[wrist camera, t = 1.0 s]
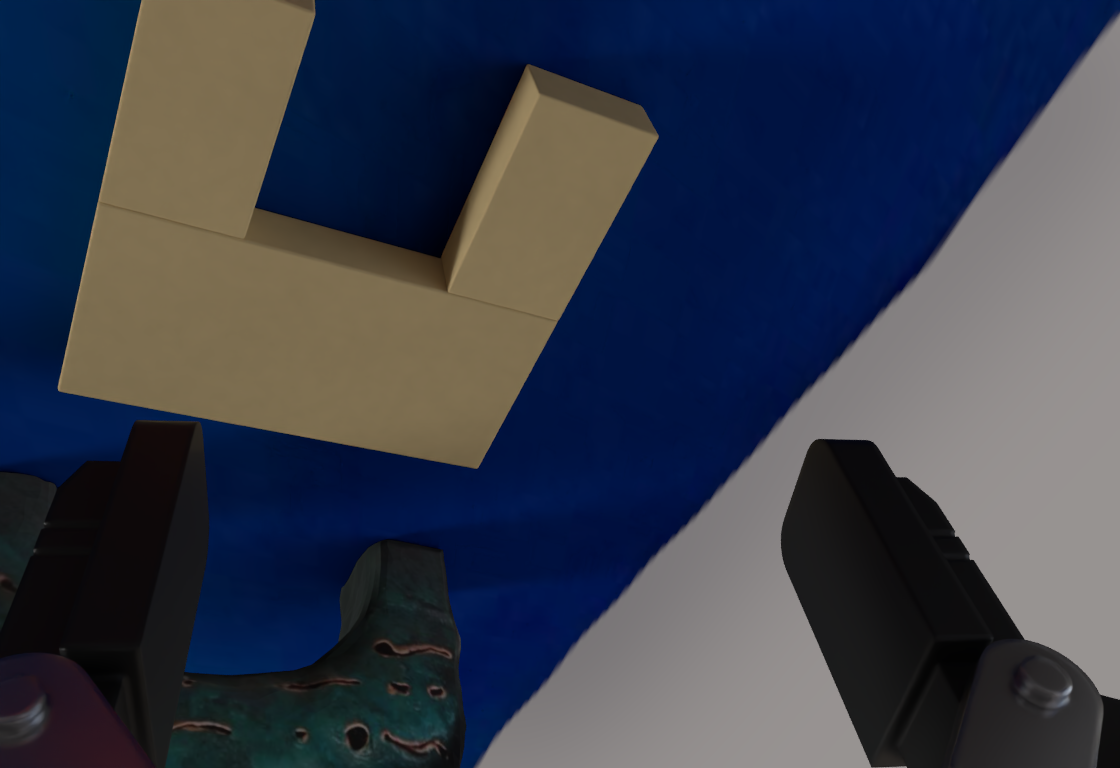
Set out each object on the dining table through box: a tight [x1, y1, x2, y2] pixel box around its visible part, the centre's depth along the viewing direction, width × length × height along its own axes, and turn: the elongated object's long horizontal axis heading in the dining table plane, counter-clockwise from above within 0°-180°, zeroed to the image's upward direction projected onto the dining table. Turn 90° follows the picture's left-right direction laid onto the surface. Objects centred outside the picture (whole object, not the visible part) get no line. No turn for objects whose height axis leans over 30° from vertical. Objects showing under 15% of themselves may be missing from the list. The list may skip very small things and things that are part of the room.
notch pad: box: [58, 0, 658, 469], centre depth 31 cm, size 14×14×2 cm
